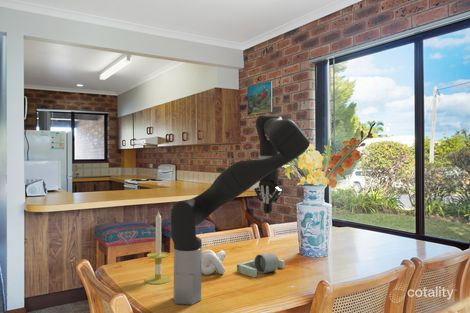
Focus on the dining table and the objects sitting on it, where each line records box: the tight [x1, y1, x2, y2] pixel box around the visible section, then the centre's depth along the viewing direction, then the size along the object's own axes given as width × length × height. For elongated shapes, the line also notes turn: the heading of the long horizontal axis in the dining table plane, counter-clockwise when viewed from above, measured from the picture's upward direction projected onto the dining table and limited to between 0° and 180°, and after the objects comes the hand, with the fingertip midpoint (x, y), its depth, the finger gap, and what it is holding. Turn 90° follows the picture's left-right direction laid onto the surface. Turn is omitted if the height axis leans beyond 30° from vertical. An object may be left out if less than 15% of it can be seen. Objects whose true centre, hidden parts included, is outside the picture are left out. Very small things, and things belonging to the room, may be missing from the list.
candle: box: [144, 210, 172, 286], centre depth 140 cm, size 10×10×27 cm
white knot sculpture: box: [201, 249, 227, 276], centre depth 149 cm, size 11×12×9 cm
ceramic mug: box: [253, 252, 279, 274], centre depth 153 cm, size 11×8×8 cm
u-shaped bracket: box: [236, 258, 286, 278], centre depth 154 cm, size 10×19×3 cm, turn 133°
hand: (267, 213), depth 139 cm, fingers closed
